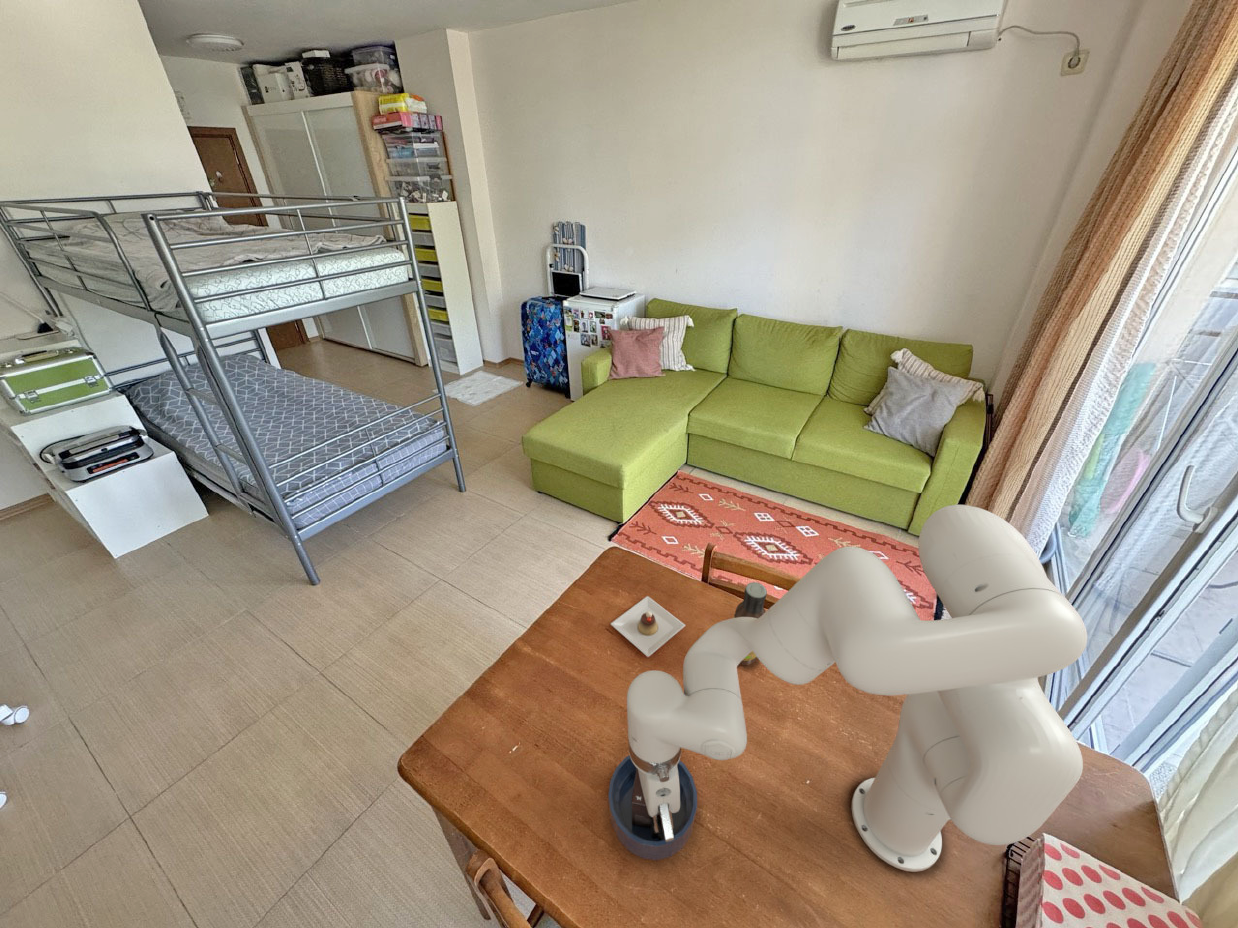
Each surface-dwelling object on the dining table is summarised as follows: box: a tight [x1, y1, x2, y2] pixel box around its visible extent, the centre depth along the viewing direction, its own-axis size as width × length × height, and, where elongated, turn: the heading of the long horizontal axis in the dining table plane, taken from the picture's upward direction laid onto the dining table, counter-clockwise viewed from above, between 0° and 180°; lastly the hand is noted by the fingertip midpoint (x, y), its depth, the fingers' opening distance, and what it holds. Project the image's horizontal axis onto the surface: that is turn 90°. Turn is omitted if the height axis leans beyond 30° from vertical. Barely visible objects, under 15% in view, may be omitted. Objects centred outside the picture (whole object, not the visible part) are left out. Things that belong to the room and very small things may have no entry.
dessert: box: [610, 595, 686, 658], centre depth 110 cm, size 12×12×5 cm
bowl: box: [607, 754, 698, 861], centre depth 79 cm, size 14×14×6 cm
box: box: [631, 769, 661, 828], centre depth 78 cm, size 6×6×7 cm
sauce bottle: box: [733, 581, 768, 666], centre depth 99 cm, size 6×6×20 cm
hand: (654, 801), depth 79 cm, fingers open, 8 cm apart
